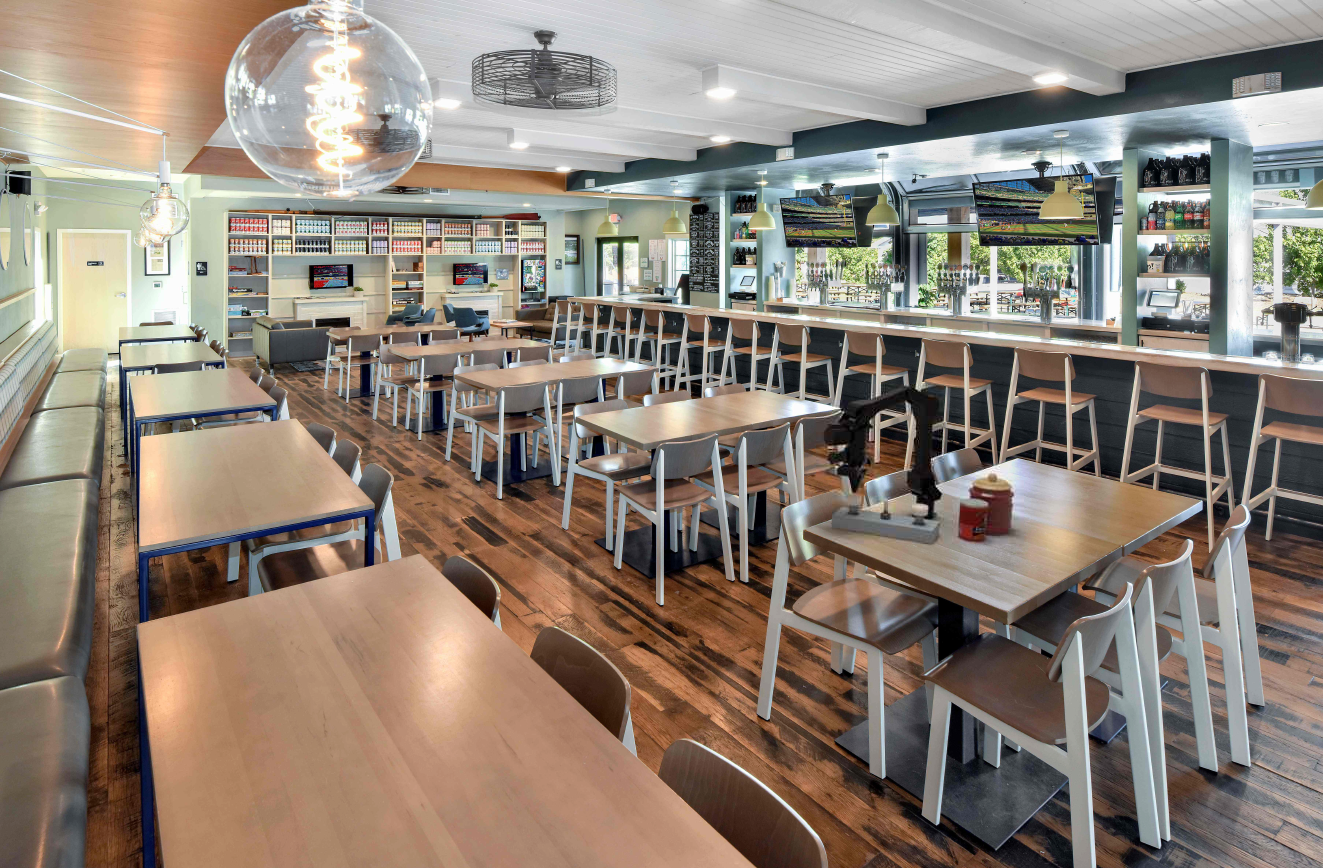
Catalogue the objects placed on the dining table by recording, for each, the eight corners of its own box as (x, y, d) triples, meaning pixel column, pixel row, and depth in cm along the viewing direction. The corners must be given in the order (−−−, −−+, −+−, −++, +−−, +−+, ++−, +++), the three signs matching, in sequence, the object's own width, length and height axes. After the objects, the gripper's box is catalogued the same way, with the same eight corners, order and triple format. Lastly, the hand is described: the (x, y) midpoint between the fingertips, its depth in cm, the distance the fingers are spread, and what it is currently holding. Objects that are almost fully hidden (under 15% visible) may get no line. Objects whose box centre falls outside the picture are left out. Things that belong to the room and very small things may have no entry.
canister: (1015, 537, 235) (1020, 480, 231) (969, 534, 237) (974, 477, 234) (1005, 523, 247) (1010, 469, 244) (962, 521, 250) (966, 467, 246)
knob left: (848, 509, 248) (849, 493, 247) (862, 511, 245) (863, 495, 244) (843, 513, 244) (844, 497, 243) (858, 515, 241) (859, 499, 240)
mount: (842, 518, 252) (842, 506, 251) (938, 534, 237) (939, 521, 236) (831, 527, 244) (832, 515, 243) (931, 543, 229) (932, 530, 228)
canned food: (976, 543, 229) (979, 507, 227) (952, 536, 235) (954, 501, 233) (991, 538, 233) (994, 502, 231) (966, 531, 240) (969, 496, 238)
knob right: (912, 519, 238) (914, 502, 237) (928, 521, 235) (929, 505, 234) (909, 523, 234) (910, 506, 233) (925, 525, 231) (926, 508, 230)
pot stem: (881, 516, 242) (882, 499, 241) (891, 517, 240) (892, 500, 239) (879, 518, 239) (880, 501, 238) (888, 520, 238) (890, 502, 236)
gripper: (840, 435, 252) (838, 482, 255) (821, 446, 236) (819, 496, 239) (875, 438, 246) (872, 486, 250) (857, 450, 231) (855, 501, 234)
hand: (854, 492), depth 243 cm, fingers closed
